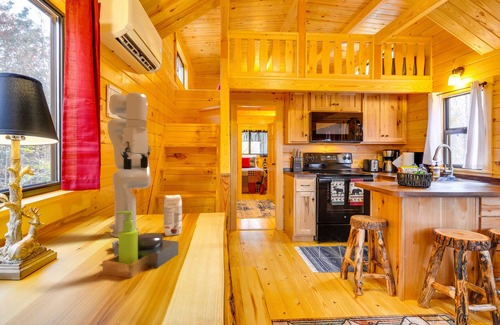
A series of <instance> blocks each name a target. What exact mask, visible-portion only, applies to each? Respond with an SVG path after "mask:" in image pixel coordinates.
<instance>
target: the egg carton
mask: <svg viewBox="0 0 500 325" xmlns="http://www.w3.org/2000/svg"><path fill="white" fill-rule="evenodd" d="M111 245H112V248H111V249H112V251H114V248H117V247H119V239H118V240H117V239H116V240H114V241H113V242H111Z"/></svg>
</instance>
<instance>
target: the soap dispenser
mask: <svg viewBox="0 0 500 325" xmlns="http://www.w3.org/2000/svg"><path fill="white" fill-rule="evenodd" d="M115 214H116V215H117V214H126V220H125V221H123V230H122V231H120V232H119V237H118V241H119V263H127V264H132V263H133V262H135V261H137V260H138V235H139V233H138V231H137V230H135V229H134V221H133V220H131V214H133V211H120V212H117V213H115V212H114V215H115Z"/></svg>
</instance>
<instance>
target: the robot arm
mask: <svg viewBox="0 0 500 325" xmlns="http://www.w3.org/2000/svg"><path fill="white" fill-rule="evenodd" d="M147 98H148V97H147V96H146V95H145V94H144V93H140V92H129V93H127V94H126V95H125V94H118V93H117V94H112V95H111V96H110V97H109V101H108V107H109V108H108V109H109V111H110V113H111V114H112V115H116V116H117V117H118V118H112V119H110V120H108V122H107V126H106V127H107V134H108V138H109V140H110V141H111V143H112V146H113V155H114V156H113V157H114V165H115V168H116V169H117V171H115V172H114V173H113V174H112V183H113V184H112V185H113V190H114V223H111V224H110V225H109V226H108V229H109V230H112V231H111V232H110V234H111V237H115V238H119V232H120V231H122V230H123V221H125V220H126V214H117V215H116V214H115V213H117V212H120V211H133V214H131V220H133V221H134V229H135V230H137V231H138V234H139V233H140V229H139V228H137V198H136V195H135V194H134V193H133V192H132V191H131V190H133V189H134V190H137V189H147V188H149V187H150V186H151V184H152V176H151V175H152V173H151V169H150V168H151V167H150V161H149V158H150V154H151V151H152V148H151V146H150V145H149V136H148V129H147V126H148V125H147V121H148V120H147V118H148V110H149V109H148V108H149V104H148V103H149V102H148V100H147Z"/></svg>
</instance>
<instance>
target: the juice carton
mask: <svg viewBox="0 0 500 325" xmlns="http://www.w3.org/2000/svg"><path fill="white" fill-rule="evenodd" d="M182 205H183V200H182V196H181V195H180V194H175V195H174V194H173V195H164V198H163V231H164V234H165V235H164V236H166V237H169V236H179V235H181V233H182V230H183V229H182V228H183V206H182Z"/></svg>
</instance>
